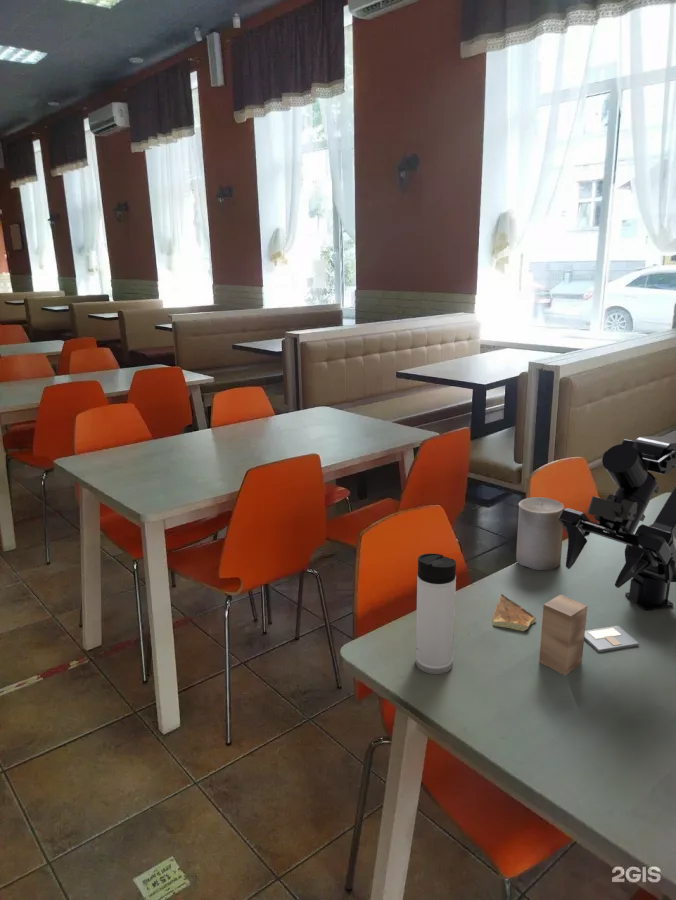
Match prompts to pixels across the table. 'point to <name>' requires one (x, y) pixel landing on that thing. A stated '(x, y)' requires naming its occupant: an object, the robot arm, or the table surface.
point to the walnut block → (563, 634)
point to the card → (609, 639)
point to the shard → (512, 615)
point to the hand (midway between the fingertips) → (591, 577)
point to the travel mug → (435, 613)
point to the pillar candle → (539, 533)
